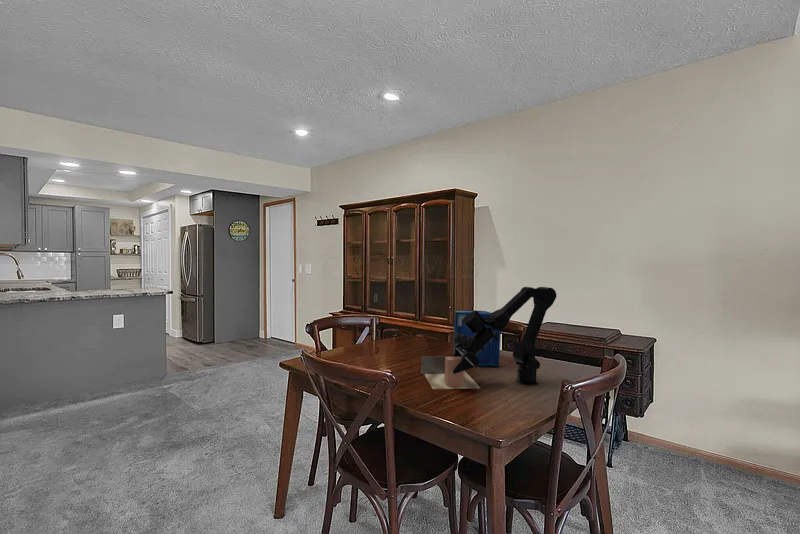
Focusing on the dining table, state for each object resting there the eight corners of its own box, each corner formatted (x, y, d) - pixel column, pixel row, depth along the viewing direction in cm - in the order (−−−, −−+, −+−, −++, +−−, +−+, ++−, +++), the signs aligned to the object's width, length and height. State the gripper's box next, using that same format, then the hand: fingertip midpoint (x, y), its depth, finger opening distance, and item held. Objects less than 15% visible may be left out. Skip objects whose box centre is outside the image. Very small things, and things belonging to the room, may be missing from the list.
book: (499, 364, 197) (500, 310, 197) (501, 368, 190) (502, 312, 190) (452, 362, 199) (453, 309, 199) (453, 366, 192) (454, 311, 192)
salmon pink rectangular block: (460, 382, 164) (460, 356, 164) (463, 386, 159) (463, 359, 159) (444, 382, 163) (445, 356, 163) (447, 386, 158) (447, 360, 158)
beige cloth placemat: (464, 373, 181) (464, 370, 181) (480, 390, 157) (480, 388, 157) (422, 373, 179) (422, 371, 179) (432, 391, 155) (432, 388, 155)
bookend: (448, 371, 179) (449, 355, 179) (450, 373, 176) (450, 356, 176) (420, 372, 178) (421, 355, 178) (421, 373, 175) (422, 357, 175)
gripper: (459, 321, 170) (431, 349, 169) (472, 329, 152) (441, 360, 151) (478, 341, 171) (450, 368, 170) (492, 351, 153) (462, 382, 152)
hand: (450, 369), depth 161 cm, fingers open, 9 cm apart
